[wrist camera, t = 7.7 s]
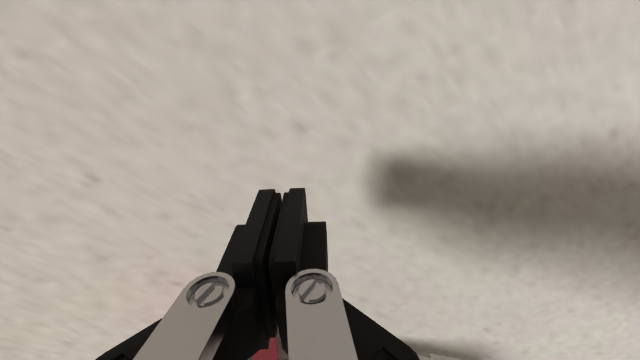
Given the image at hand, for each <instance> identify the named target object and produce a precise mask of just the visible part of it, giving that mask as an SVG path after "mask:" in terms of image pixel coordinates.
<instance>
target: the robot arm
mask: <svg viewBox="0 0 640 360" xmlns="http://www.w3.org/2000/svg"><path fill="white" fill-rule="evenodd" d="M278 327H279V333H280V337H281V342H282V348H283V349H284V350H285V352H286V353H287V354H288V355H289V360H463V359H457V358H452V357H447V356H442V355H437V354H432V353H430V358H429V357H424V356H419V355H417V354H416V353H415V352H414V351H413V350H412V349H411V348H410V347H409V346H408V345H406V344H405V343H404V342H402V341H401V340H399V339H398V338H397V337H395V336H394V335H392V334H391V333H390V332H388V331H387V330H386V329H384V328H383V327H381V326H380V325H379V324H377V323H376V322H374V321H373V320H372V319H370V318H369V317H368V316H366V315H365V314H363V313H362V312H361V311H359V310H358V309H356V308H355V307H354V306H352V305H351V304H350V303H348V302H347V301H345V300H344V299H343V298H342V296H341V292H340V288H339V285H338V282H337V280H336V278H335V277H334V276H333V275H332V274H331V273H329V272H328V253H327V231H326V222H308V217H307V205H306V193H305V188H291V189H290V190H289V192H287V193H284V196H283V200H282V199H281V194H280V193H276V192H275V189H267V190H259V191H258V194H257V197H256V199H255V202H254V204H253V207H252V209H251V212H250V215H249V217H248V220H247V222H246V225H237V226H236V228H235V230H234V232H233V234H232V237H231V239H230V241H229V243H228V246H227V248H226V250H225V253H224V255H223V257H222V260H221V262H220V264H219V267H218V269H217V271H216V272H211V273H207V274H203V275H201V276H199V277H197V278H195V279H194V280H192V281H191V282H190V283H189V284H188V285H187V286H186V287H185V288H184V289H183V290H182V292H181V293H180V295H179V296H178V297H177V299H176V300H175V302H174V303H173V304H172V306H171V307H170V309H169V310H168V311H167V313H166V314H165V316H164V317H163V318H162V319H160V320H158V321H157V322H155V323H153V324H152V325H150V326H148V327H147V328H145V329H143V330H142V331H140V332H139V333H137V334H135V335H134V336H132V337H130V338H129V339H127V340H125V341H124V342H122V343H120V344H119V345H117V346H115V347H114V348H112V349H110V350H109V351H107V352H105V353H104V354H102V355H101V356H100V357H98V358H97V359H96V360H252V356H253V355H254V354H255V353H257V352H258V351H259V350H260V349H268V348H269V342H270V338H275V337H276V334H277V328H278Z"/></svg>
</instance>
